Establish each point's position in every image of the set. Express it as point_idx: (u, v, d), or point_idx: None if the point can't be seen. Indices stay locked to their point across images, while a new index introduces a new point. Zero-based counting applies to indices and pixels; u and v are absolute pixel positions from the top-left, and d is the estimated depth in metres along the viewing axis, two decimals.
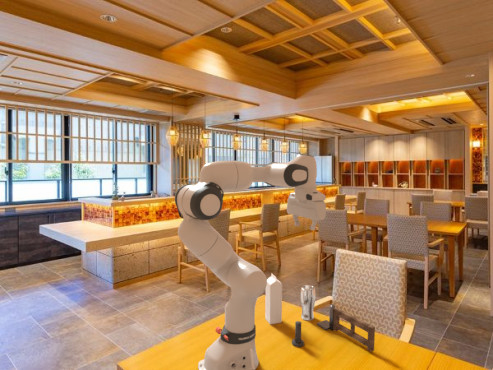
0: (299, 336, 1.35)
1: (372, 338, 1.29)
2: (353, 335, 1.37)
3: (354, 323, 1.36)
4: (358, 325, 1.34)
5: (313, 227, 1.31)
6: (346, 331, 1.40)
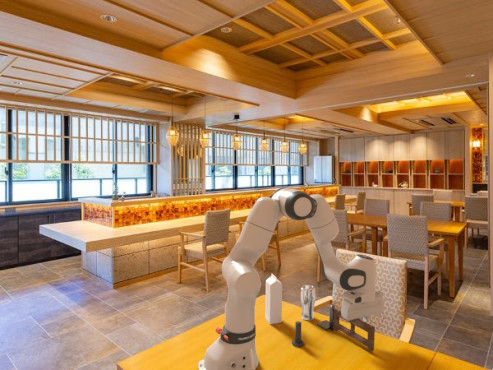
0: (299, 336, 1.35)
1: (372, 338, 1.29)
2: (353, 335, 1.37)
3: (354, 323, 1.36)
4: (358, 325, 1.34)
5: None
6: (346, 331, 1.40)
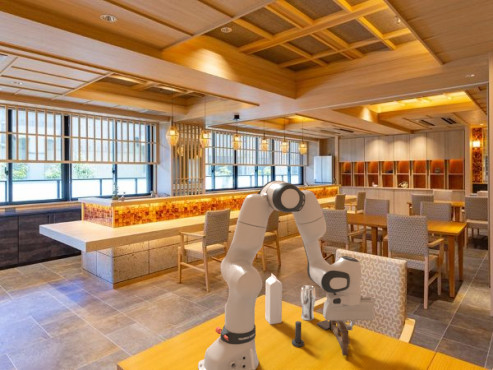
0: (299, 336, 1.35)
1: (345, 342, 1.26)
2: (337, 337, 1.35)
3: (338, 325, 1.35)
4: (339, 327, 1.32)
5: None
6: (335, 332, 1.39)
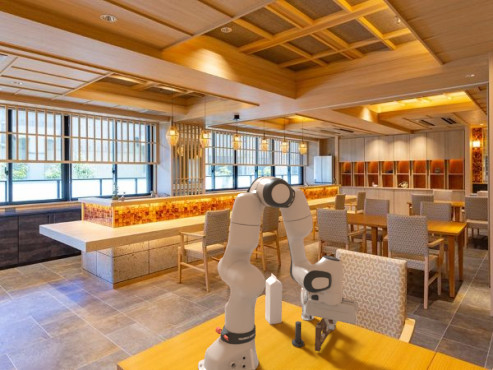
0: (299, 336, 1.35)
1: (316, 338, 1.29)
2: None
3: None
4: None
5: None
6: None
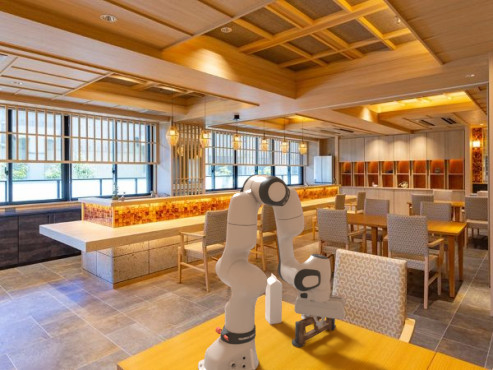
0: None
1: (300, 331, 1.34)
2: None
3: None
4: None
5: (316, 322, 1.37)
6: None
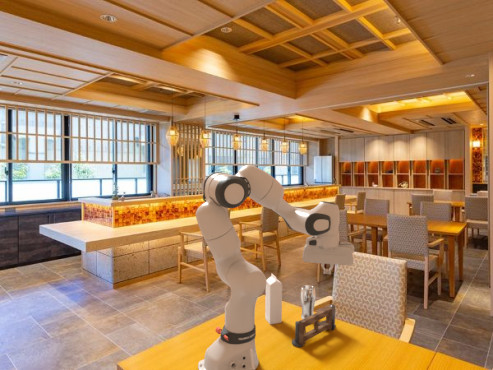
0: None
1: (300, 331, 1.34)
2: None
3: None
4: None
5: None
6: None
